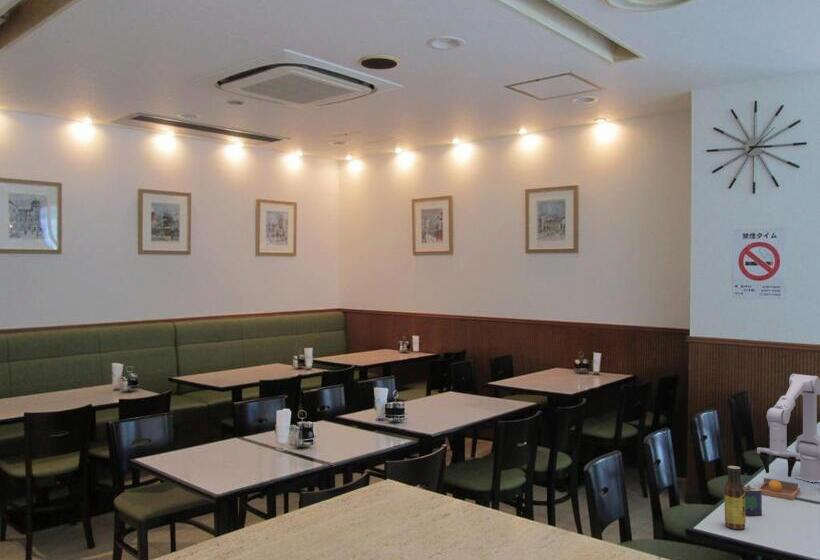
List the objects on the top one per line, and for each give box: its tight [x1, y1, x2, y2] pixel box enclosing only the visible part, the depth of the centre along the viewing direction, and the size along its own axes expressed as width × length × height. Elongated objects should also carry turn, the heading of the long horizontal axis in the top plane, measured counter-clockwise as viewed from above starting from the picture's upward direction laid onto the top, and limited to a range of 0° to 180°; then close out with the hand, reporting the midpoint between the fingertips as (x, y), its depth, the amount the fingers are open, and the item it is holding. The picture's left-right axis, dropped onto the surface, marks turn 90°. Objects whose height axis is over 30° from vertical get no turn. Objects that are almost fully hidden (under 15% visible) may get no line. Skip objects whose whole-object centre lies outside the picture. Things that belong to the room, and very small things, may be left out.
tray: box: [756, 481, 801, 501], centre depth 257 cm, size 12×12×2 cm
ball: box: [769, 478, 782, 492], centre depth 258 cm, size 5×5×5 cm
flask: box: [743, 483, 763, 517], centre depth 234 cm, size 9×3×11 cm, turn 88°
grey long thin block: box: [763, 477, 799, 488], centre depth 263 cm, size 1×12×3 cm, turn 49°
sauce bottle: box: [723, 465, 746, 530], centre depth 223 cm, size 6×6×20 cm
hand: (778, 474), depth 257 cm, fingers open, 7 cm apart
